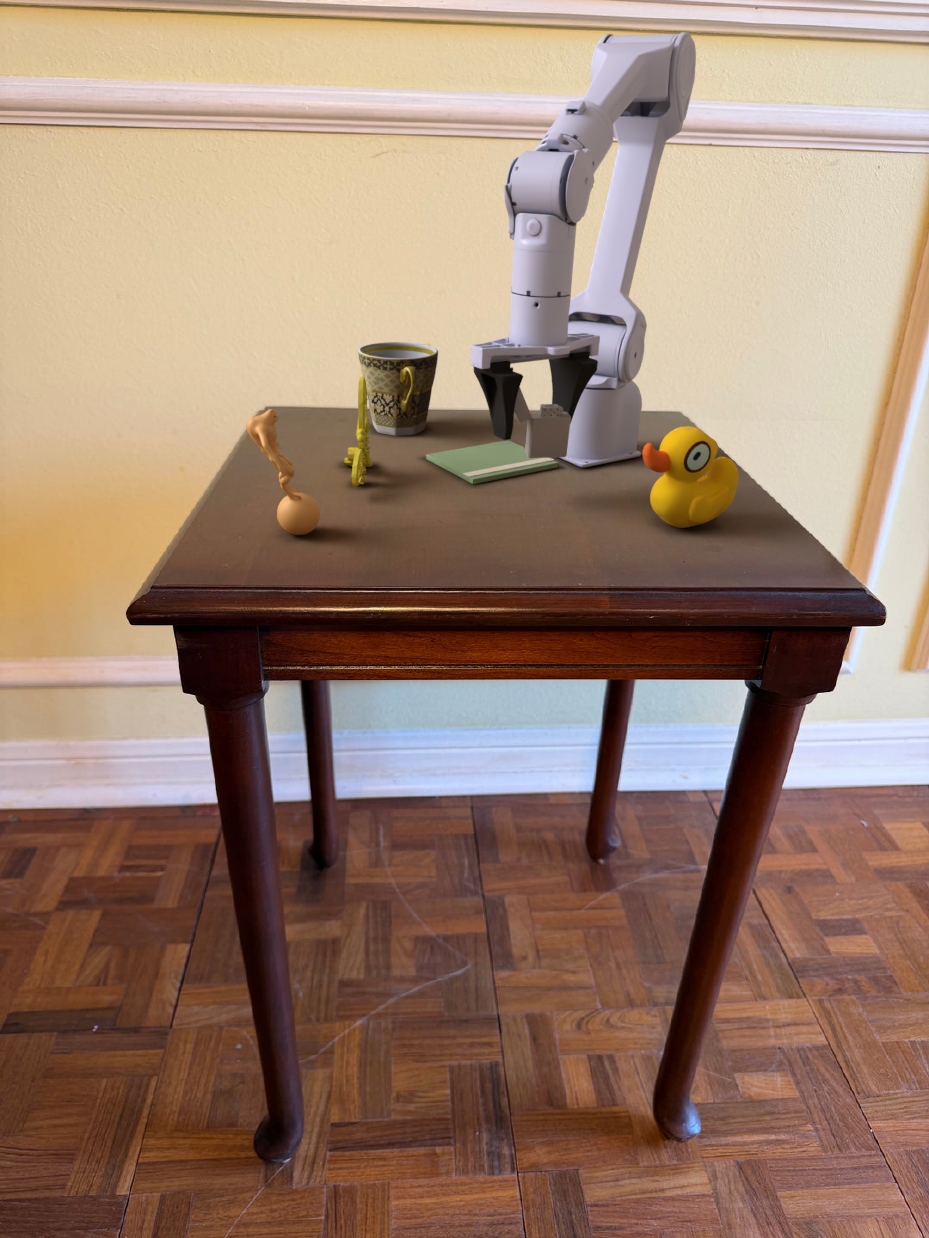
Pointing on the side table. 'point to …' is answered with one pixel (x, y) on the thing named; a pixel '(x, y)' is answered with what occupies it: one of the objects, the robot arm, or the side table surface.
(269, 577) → the side table surface
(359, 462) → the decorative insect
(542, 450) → the lighter
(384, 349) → the ceramic cup
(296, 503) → the figurine
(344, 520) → the side table surface
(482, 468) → the towel
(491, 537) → the side table surface
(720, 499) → the duckling
